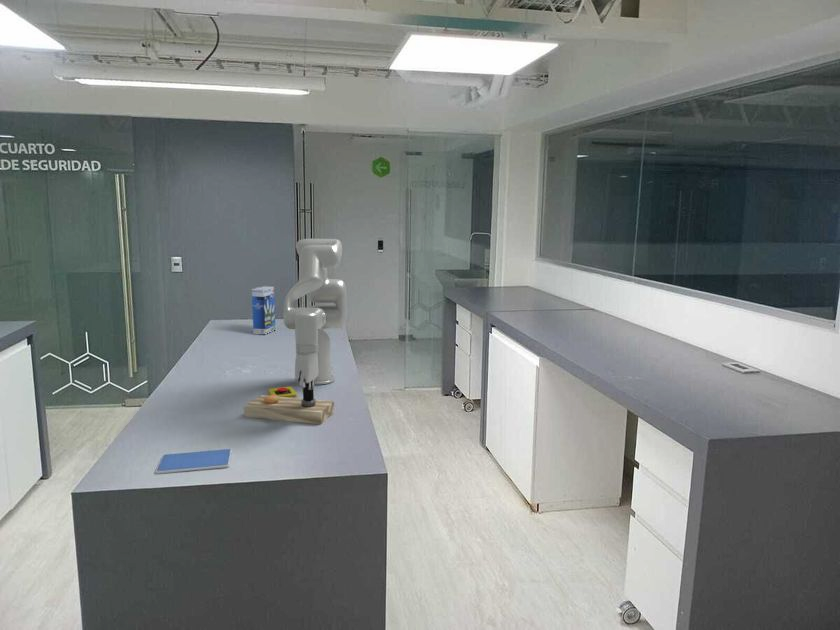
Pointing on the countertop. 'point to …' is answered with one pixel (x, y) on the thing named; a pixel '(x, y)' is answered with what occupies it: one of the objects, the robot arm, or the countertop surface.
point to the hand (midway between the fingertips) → (308, 399)
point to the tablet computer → (194, 461)
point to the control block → (289, 410)
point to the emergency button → (283, 392)
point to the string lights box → (263, 310)
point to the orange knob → (271, 399)
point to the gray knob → (308, 403)
